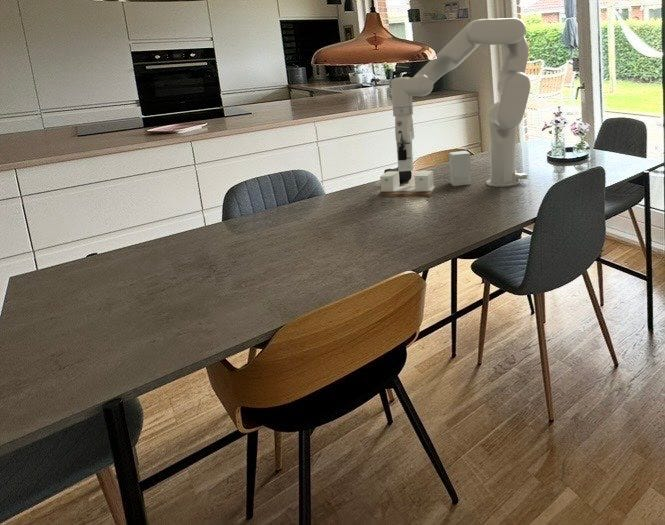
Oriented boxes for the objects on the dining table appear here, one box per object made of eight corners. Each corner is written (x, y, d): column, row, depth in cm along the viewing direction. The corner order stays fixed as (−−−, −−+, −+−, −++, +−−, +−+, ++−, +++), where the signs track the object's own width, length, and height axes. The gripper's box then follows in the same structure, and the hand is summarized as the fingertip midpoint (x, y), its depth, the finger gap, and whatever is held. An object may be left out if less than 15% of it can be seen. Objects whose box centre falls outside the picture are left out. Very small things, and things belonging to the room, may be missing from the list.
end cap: (391, 186, 240) (390, 170, 237) (384, 183, 246) (383, 168, 244) (412, 182, 242) (411, 166, 240) (404, 180, 249) (403, 164, 246)
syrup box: (413, 170, 220) (411, 132, 215) (397, 171, 221) (395, 134, 216) (413, 167, 225) (411, 130, 220) (398, 168, 226) (396, 131, 221)
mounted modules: (433, 185, 226) (432, 170, 223) (427, 191, 218) (427, 176, 215) (388, 185, 233) (387, 171, 231) (380, 191, 225) (379, 176, 223)
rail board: (437, 188, 227) (436, 184, 226) (430, 196, 217) (429, 192, 216) (387, 189, 235) (386, 185, 235) (378, 196, 225) (377, 192, 225)
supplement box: (471, 184, 228) (470, 153, 224) (452, 186, 228) (451, 155, 224) (467, 180, 235) (466, 150, 231) (449, 182, 235) (448, 152, 231)
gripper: (406, 113, 206) (408, 162, 212) (418, 108, 221) (420, 153, 227) (386, 114, 209) (389, 163, 215) (399, 109, 224) (402, 154, 230)
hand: (405, 157), depth 221 cm, fingers closed on syrup box, 6 cm apart
